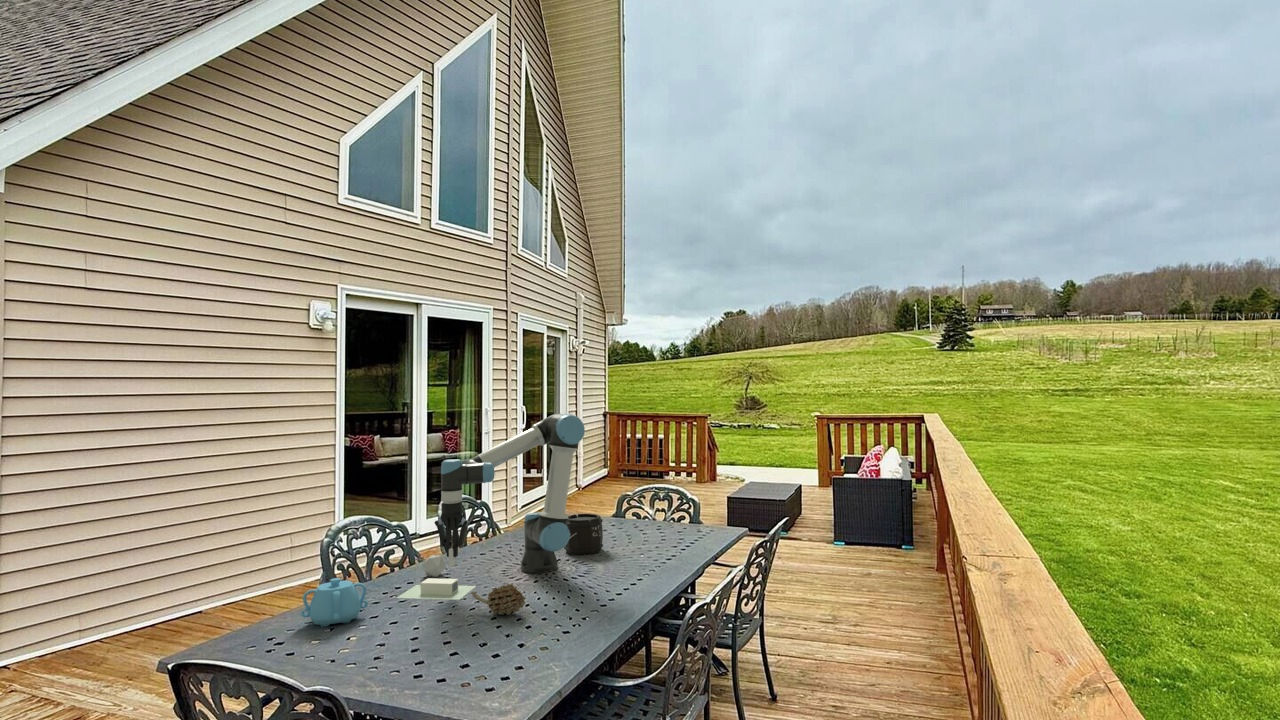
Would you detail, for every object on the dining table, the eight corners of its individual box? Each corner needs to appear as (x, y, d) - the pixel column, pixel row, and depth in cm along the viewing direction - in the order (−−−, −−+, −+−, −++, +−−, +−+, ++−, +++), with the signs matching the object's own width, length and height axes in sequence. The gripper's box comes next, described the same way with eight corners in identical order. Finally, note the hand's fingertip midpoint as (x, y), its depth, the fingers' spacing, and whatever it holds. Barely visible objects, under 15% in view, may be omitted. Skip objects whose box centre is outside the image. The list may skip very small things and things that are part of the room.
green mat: (476, 586, 252) (476, 586, 252) (459, 600, 236) (459, 599, 236) (416, 585, 256) (416, 584, 256) (396, 598, 240) (396, 598, 240)
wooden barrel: (568, 546, 313) (568, 512, 314) (605, 546, 311) (605, 513, 311) (558, 556, 295) (558, 520, 296) (598, 556, 293) (597, 520, 293)
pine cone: (532, 612, 222) (531, 582, 223) (516, 621, 214) (516, 590, 214) (477, 605, 231) (476, 576, 231) (459, 614, 222) (459, 584, 222)
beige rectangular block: (458, 578, 248) (427, 578, 250) (451, 583, 242) (420, 583, 244) (458, 589, 248) (427, 589, 250) (451, 594, 242) (420, 594, 244)
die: (450, 575, 270) (444, 553, 275) (442, 570, 263) (437, 548, 268) (430, 583, 269) (425, 561, 274) (422, 578, 262) (417, 556, 267)
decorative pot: (332, 633, 207) (332, 589, 208) (296, 625, 214) (296, 583, 214) (372, 616, 222) (372, 575, 223) (338, 609, 229) (338, 570, 229)
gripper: (472, 499, 249) (473, 563, 248) (439, 499, 251) (440, 562, 250) (464, 503, 242) (465, 568, 241) (430, 503, 244) (431, 568, 243)
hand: (452, 565), depth 246 cm, fingers closed
